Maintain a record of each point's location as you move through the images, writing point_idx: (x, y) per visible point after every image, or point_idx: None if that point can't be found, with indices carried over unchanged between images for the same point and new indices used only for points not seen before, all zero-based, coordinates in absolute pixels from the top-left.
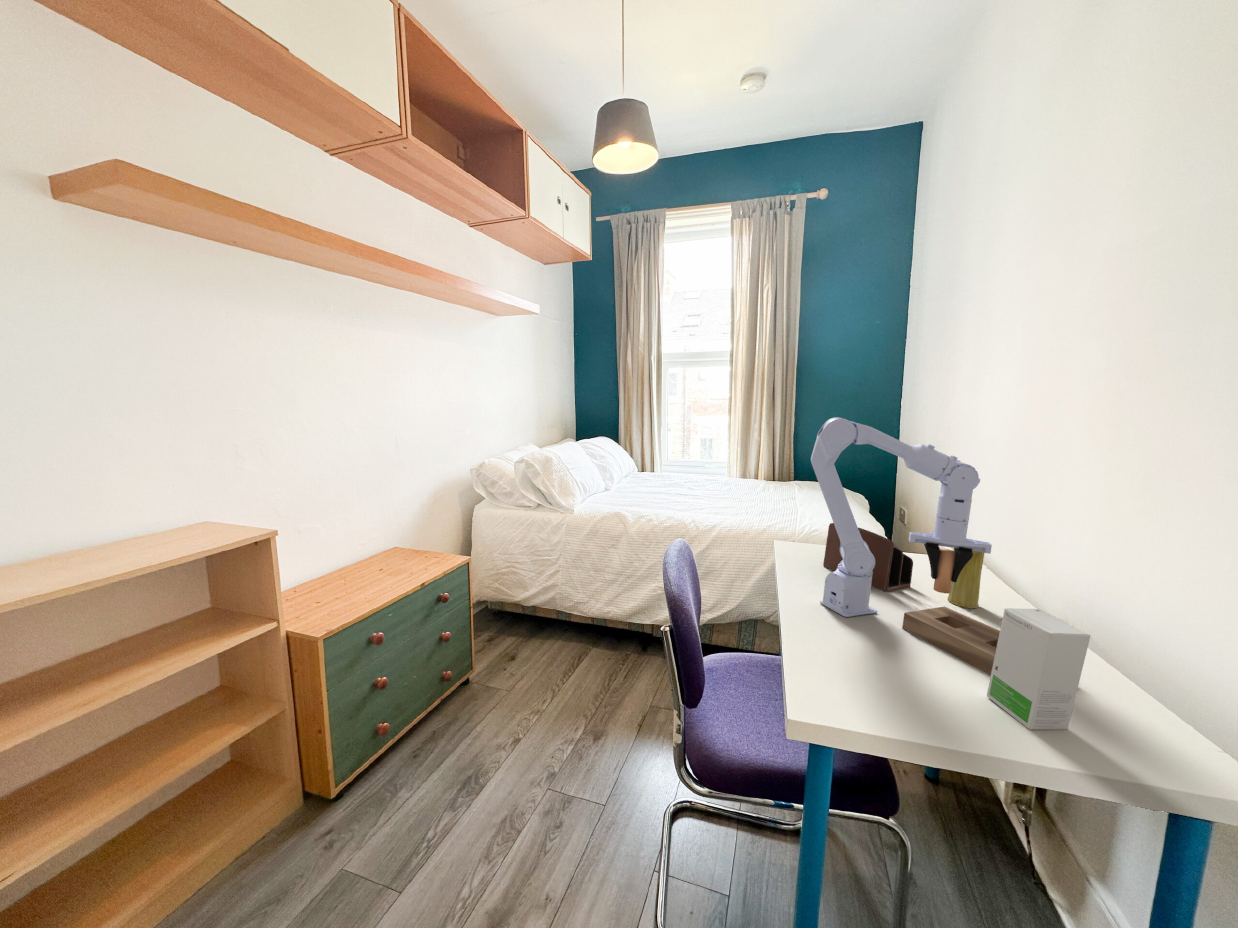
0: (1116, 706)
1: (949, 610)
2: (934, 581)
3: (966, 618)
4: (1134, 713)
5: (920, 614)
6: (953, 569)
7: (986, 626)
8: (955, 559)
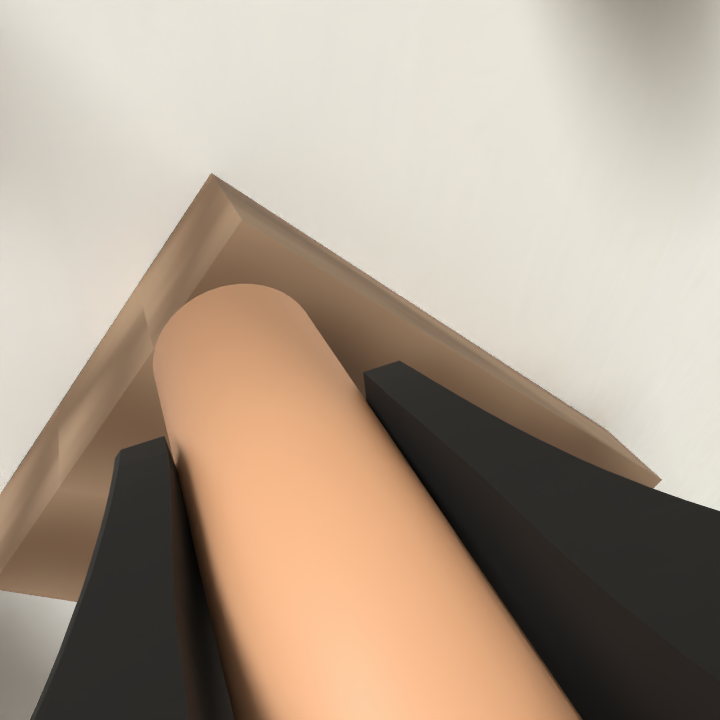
0: (662, 491)
1: (280, 289)
2: (168, 437)
3: (381, 355)
4: (683, 493)
5: (98, 530)
6: (449, 519)
7: (470, 389)
8: (563, 680)
